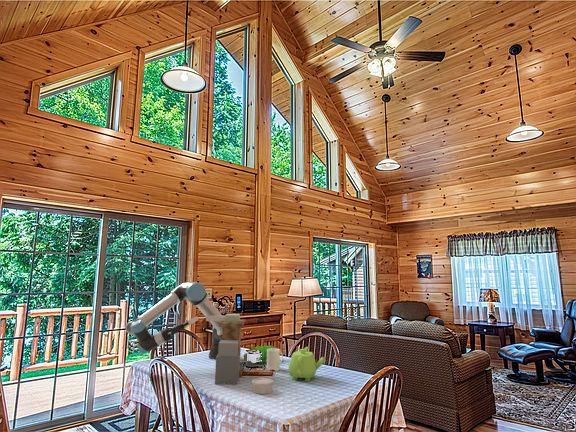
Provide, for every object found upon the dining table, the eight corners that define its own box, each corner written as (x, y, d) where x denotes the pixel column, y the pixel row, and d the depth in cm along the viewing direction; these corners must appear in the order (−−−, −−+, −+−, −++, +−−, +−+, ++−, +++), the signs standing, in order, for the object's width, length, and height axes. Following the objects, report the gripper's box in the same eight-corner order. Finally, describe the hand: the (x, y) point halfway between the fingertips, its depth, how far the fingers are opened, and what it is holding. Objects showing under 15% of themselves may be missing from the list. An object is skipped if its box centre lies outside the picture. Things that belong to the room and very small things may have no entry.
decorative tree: (243, 344, 249) (276, 338, 270) (239, 360, 251) (272, 352, 272) (253, 354, 241) (286, 346, 262) (248, 370, 243) (282, 361, 264)
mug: (279, 366, 243) (279, 347, 245) (286, 369, 236) (287, 349, 238) (263, 368, 237) (264, 348, 238) (270, 371, 230) (271, 351, 231)
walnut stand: (216, 377, 215) (218, 323, 220) (220, 368, 235) (222, 319, 239) (241, 377, 216) (242, 323, 220) (243, 368, 235) (245, 319, 240)
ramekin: (262, 387, 198) (262, 376, 199) (278, 391, 191) (278, 380, 192) (246, 391, 189) (247, 380, 190) (263, 396, 182) (263, 385, 183)
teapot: (323, 385, 204) (324, 354, 206) (285, 382, 208) (285, 352, 211) (328, 373, 228) (328, 346, 230) (293, 371, 232) (293, 344, 235)
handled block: (205, 321, 225) (205, 314, 226) (207, 320, 233) (207, 313, 234) (238, 322, 226) (238, 315, 227) (239, 320, 234) (239, 313, 235)
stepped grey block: (214, 384, 201) (216, 343, 204) (217, 378, 213) (219, 339, 216) (237, 384, 202) (238, 343, 205) (239, 378, 214) (240, 339, 217)
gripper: (171, 338, 238) (202, 322, 241) (160, 345, 213) (194, 327, 216) (166, 328, 239) (196, 311, 242) (154, 333, 214) (188, 315, 217)
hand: (195, 318), depth 229 cm, fingers open, 13 cm apart
